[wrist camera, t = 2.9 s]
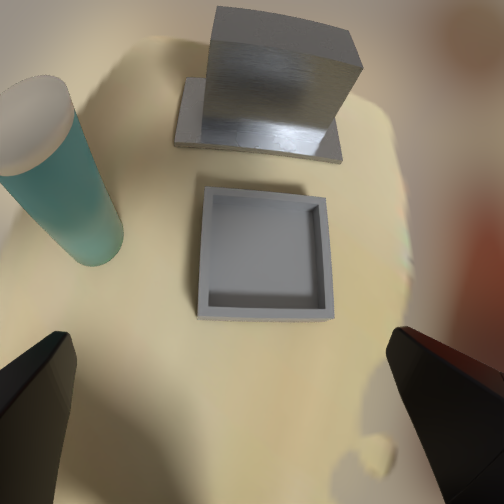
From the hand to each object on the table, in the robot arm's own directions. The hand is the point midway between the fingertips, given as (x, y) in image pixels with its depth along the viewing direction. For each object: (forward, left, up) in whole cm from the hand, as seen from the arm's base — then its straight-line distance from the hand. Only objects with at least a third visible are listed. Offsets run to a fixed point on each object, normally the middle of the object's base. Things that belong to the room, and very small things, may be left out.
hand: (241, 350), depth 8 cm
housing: (+19, -3, -13) cm, 24 cm away
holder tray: (+6, -3, -13) cm, 15 cm away
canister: (+7, +9, -13) cm, 17 cm away
